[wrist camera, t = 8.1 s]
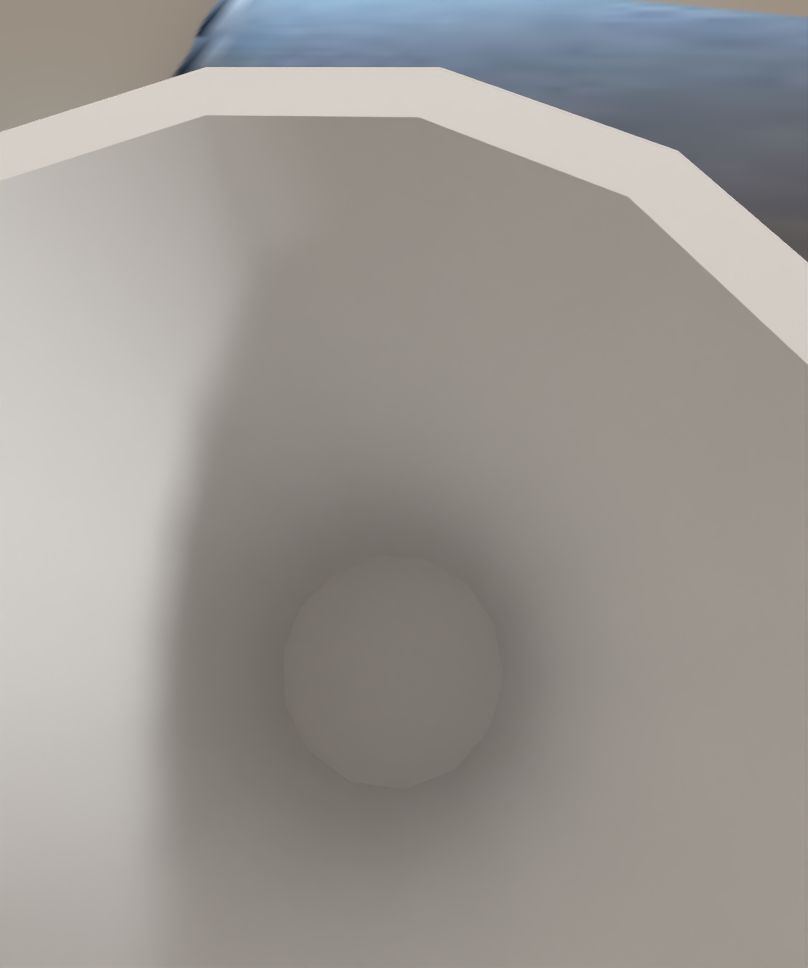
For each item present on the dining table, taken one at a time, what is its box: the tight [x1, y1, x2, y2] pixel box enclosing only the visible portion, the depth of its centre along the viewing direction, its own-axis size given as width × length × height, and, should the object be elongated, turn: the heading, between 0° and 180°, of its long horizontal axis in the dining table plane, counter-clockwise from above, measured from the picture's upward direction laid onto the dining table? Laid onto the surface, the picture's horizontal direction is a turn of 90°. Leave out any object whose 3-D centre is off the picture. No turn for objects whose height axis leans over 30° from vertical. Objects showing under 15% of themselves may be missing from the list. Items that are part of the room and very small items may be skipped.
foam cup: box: [0, 67, 808, 968], centre depth 10 cm, size 10×9×13 cm
